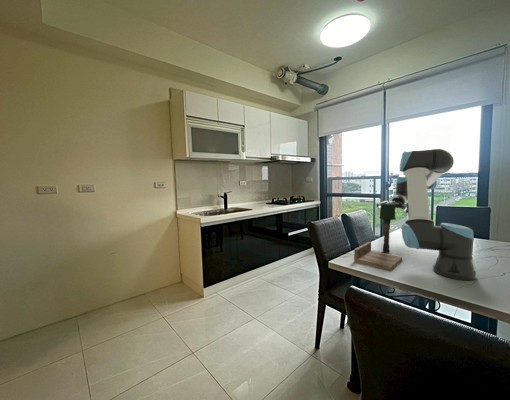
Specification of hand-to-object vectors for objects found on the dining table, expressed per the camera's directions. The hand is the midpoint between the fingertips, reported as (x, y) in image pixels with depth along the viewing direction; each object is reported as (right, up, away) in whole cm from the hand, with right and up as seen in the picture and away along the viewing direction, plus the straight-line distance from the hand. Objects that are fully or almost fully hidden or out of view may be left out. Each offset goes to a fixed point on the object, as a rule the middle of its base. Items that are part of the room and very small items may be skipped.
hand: (390, 211), depth 141 cm
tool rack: (-17, -26, -16) cm, 35 cm away
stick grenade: (-4, -25, -2) cm, 26 cm away
